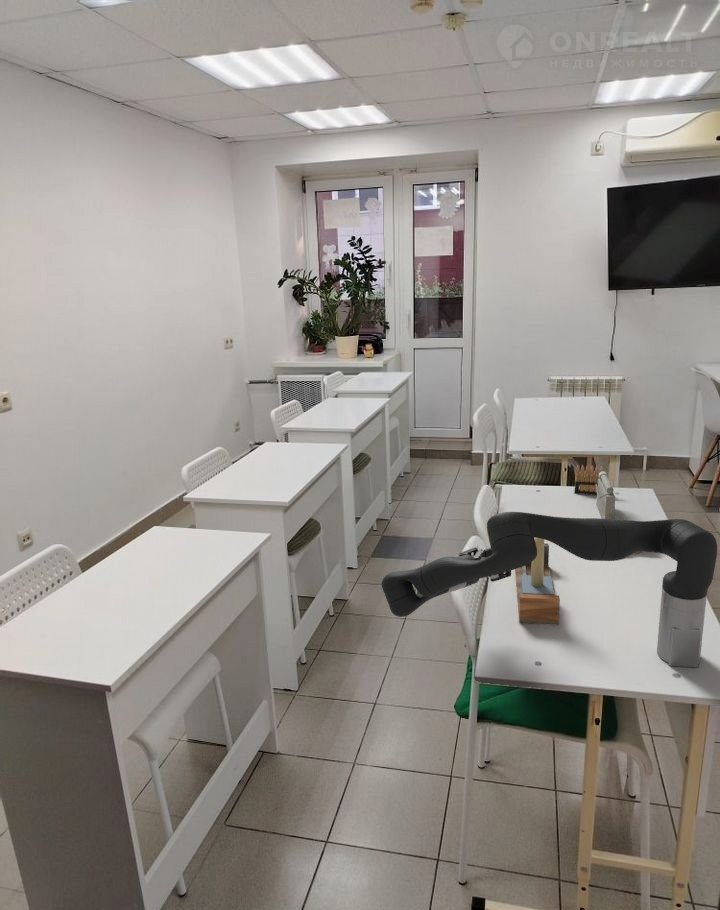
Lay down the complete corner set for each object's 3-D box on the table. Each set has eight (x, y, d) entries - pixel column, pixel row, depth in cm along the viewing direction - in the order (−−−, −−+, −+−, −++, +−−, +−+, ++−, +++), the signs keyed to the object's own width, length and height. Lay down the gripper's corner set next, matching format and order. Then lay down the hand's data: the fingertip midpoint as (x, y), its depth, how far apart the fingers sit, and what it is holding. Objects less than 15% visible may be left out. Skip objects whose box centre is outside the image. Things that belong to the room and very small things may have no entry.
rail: (558, 624, 168) (559, 599, 165) (519, 623, 170) (519, 597, 167) (547, 565, 199) (548, 543, 197) (514, 564, 201) (514, 542, 199)
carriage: (553, 607, 170) (555, 545, 165) (522, 606, 172) (523, 544, 167) (550, 589, 180) (552, 529, 175) (521, 588, 181) (521, 529, 176)
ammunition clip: (602, 493, 255) (604, 464, 252) (602, 495, 254) (604, 466, 250) (574, 491, 259) (575, 463, 256) (574, 493, 257) (575, 465, 254)
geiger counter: (619, 488, 221) (607, 466, 244) (599, 488, 222) (590, 466, 245) (616, 526, 225) (605, 500, 248) (597, 525, 226) (588, 500, 249)
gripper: (473, 570, 152) (526, 552, 160) (438, 550, 165) (488, 533, 172) (474, 599, 155) (526, 579, 162) (440, 576, 167) (489, 559, 174)
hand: (506, 556), depth 167 cm, fingers open, 8 cm apart
